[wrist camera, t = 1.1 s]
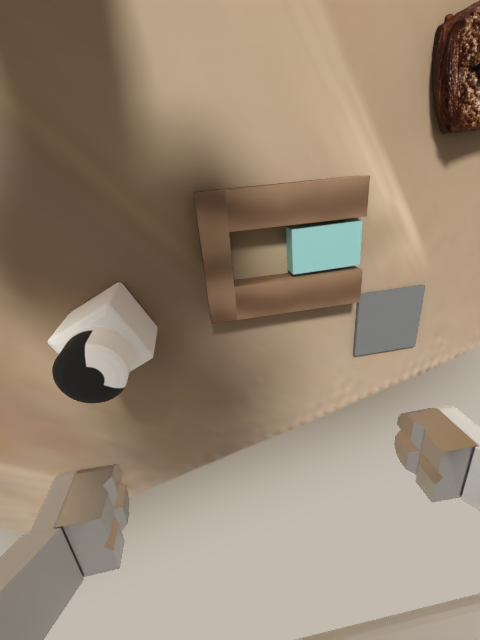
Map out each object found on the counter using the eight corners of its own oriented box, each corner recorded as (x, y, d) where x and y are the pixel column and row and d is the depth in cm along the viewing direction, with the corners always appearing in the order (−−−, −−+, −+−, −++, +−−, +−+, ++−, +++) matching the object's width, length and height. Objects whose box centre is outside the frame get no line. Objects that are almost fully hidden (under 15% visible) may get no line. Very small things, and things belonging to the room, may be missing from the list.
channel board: (193, 192, 34) (194, 193, 31) (358, 175, 36) (369, 175, 33) (210, 315, 40) (211, 323, 37) (350, 295, 42) (359, 302, 39)
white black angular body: (110, 357, 40) (83, 426, 29) (68, 312, 37) (21, 371, 26) (159, 327, 39) (150, 386, 28) (120, 279, 36) (94, 325, 25)
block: (285, 226, 37) (291, 229, 35) (351, 217, 38) (362, 220, 36) (286, 268, 39) (292, 274, 37) (349, 259, 40) (359, 264, 38)
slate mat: (357, 294, 42) (359, 295, 41) (422, 284, 43) (425, 286, 42) (353, 354, 45) (354, 356, 45) (412, 344, 46) (415, 346, 46)
